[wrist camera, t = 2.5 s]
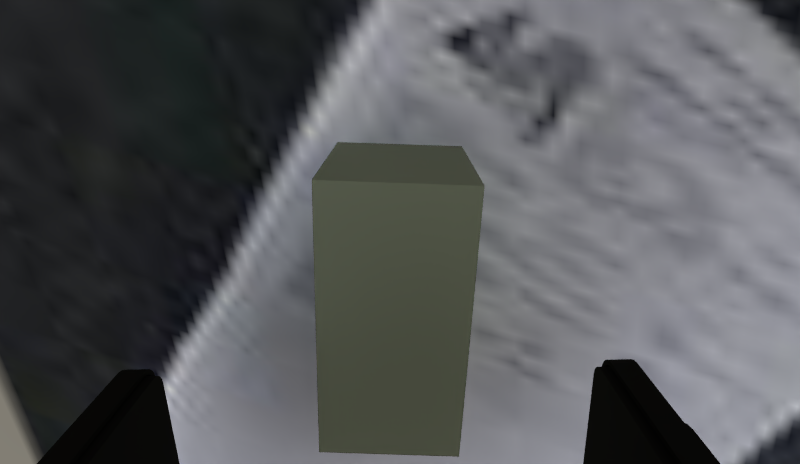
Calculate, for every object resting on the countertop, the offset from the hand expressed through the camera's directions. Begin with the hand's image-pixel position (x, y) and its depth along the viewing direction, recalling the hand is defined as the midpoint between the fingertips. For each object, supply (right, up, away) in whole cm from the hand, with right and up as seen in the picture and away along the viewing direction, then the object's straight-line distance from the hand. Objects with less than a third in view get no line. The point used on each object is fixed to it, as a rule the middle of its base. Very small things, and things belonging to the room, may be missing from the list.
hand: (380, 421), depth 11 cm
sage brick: (0, +3, +7) cm, 8 cm away
